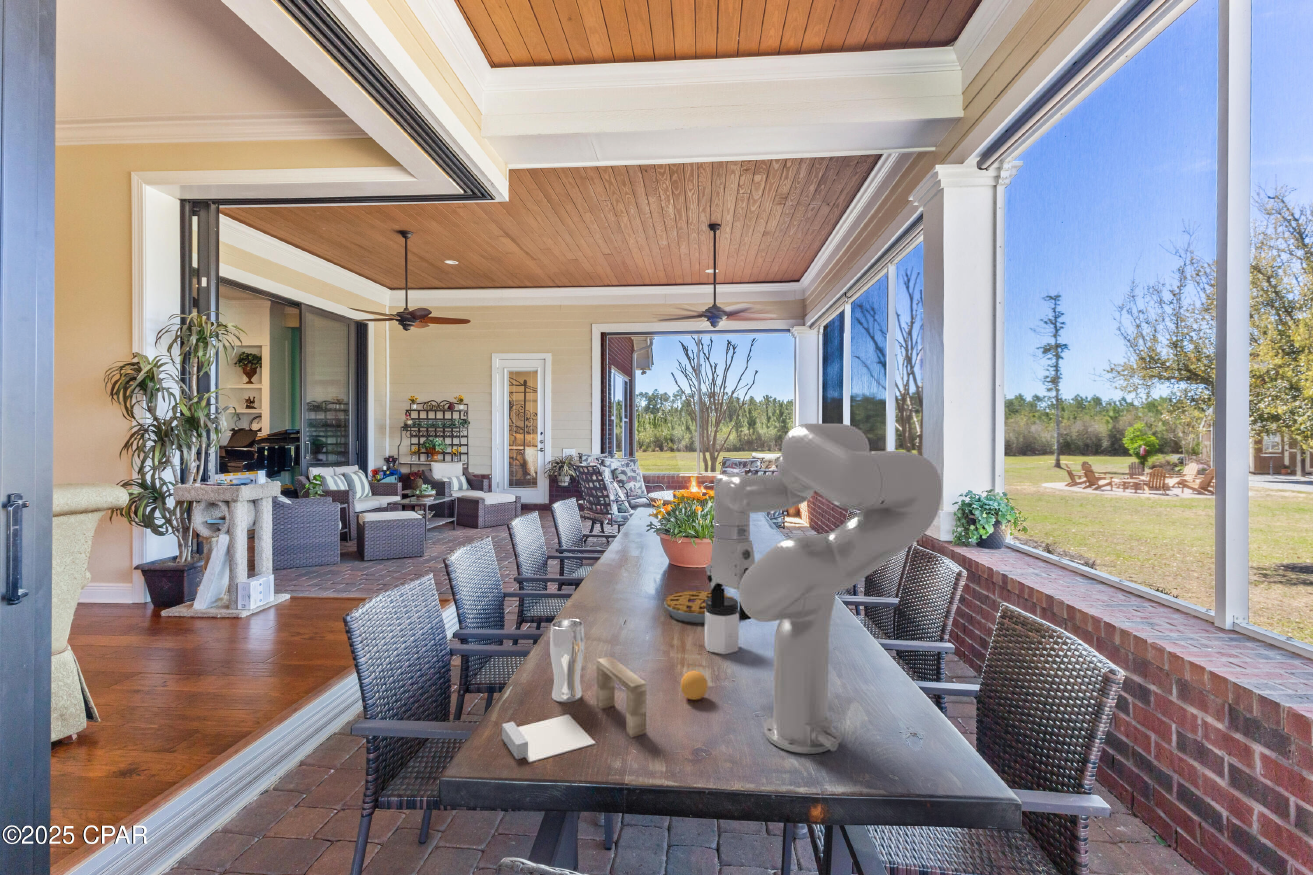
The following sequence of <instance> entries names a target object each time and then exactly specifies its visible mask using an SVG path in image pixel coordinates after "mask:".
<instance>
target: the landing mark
mask: <svg viewBox="0 0 1313 875" xmlns="http://www.w3.org/2000/svg"><path fill="white" fill-rule="evenodd" d="M517 727H518V729H519V730H520V731H521V733H522V734H523V735H524V737H525V738H526V739H527V741H528V755H527V756H525V757H524V758H525V759H526V760H527V762H528V763H529V764H530V763H533V762H536V761H540V760H543V759H547V758H550V757H554V756H557V755H561V754H564V753H568V752H572V751H575V750H578V749H581V748H585V747H589V746H592V745H596V742H595V740H594V739H592V737H591V736H589V734H588V733H587V731H585V730H584V729H583V728H582V727H581V726H580V725H579V724H578V723H577V721H576V720H574V718H572V716H571V715H570V714H564V715H561V716H558V717H554V718H553V717H552V718H549V719H545V720H541V721H538V722H537V721H536V722H533V723H529V724H525V725H520V726H517Z"/></svg>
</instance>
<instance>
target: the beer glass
mask: <svg viewBox="0 0 1313 875" xmlns="http://www.w3.org/2000/svg"><path fill="white" fill-rule="evenodd" d="M549 634H550V635H549V636H550V637H549V638H550V639H549V653H550V661H551V666H552V673H553V686H552V693H551V699H553V700H554V701H555V702H558V703H572V702H576V701H578V700H579V699H581V698H582V696H583V695H582V694H583V693H582V688H581V670H582V665H583V660H584V654H585V653H584V652H585V629H584V621H582V620H581V619H578V618H577V619H576V618H561V619H557V620H553V621H552V622H551V624H550V633H549Z"/></svg>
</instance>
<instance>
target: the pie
mask: <svg viewBox="0 0 1313 875" xmlns="http://www.w3.org/2000/svg"><path fill="white" fill-rule="evenodd" d="M710 597H711V590H710V591H704V590H699V589H697V590H695V591H690V590H684V591H683V592H679V591H677V592H674V593H673V594H672V595H671V594H668V595H667V597H666V598H665V600H664V602H663V603H664V607H665V608H666V609H667V610H668V613H669V615H670V617H672V618H673V619H675V620H678V621H681V622H686V623H694V624H705V609H706V599H707V598H710ZM724 597H731V598H734V597H733V595H730V596H729V595H727V593H725V592H724Z"/></svg>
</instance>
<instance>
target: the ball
mask: <svg viewBox="0 0 1313 875" xmlns="http://www.w3.org/2000/svg"><path fill="white" fill-rule="evenodd" d="M707 680H708V679H707V678H706V677H705V675H704V674H703V673H701V672H700V671H697V670H691V671H690V670H689V671H688V672H686V673H685V674H684V675H683V676H682V679H681V681H680V690H681V692H682V695H683V696H685V698H687V699H689V700H692V701H697V700H700V699H702V698H703V697H704V696H705V695H706V693H707V692H708V681H707Z"/></svg>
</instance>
